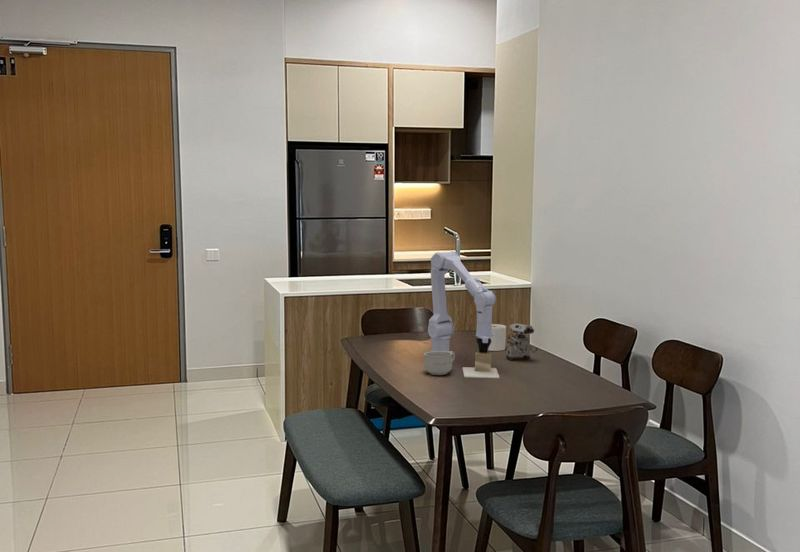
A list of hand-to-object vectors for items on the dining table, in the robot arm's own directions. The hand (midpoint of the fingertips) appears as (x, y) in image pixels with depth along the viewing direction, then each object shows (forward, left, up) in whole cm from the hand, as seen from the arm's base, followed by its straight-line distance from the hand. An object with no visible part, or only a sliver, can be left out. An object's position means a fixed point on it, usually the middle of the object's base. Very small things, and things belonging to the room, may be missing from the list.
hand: (483, 357), depth 295 cm
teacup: (+5, -16, -6) cm, 18 cm away
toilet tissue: (-41, +7, -6) cm, 41 cm away
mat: (+3, -1, -5) cm, 6 cm away
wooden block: (+1, 0, -5) cm, 5 cm away
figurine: (-20, +17, -6) cm, 26 cm away
